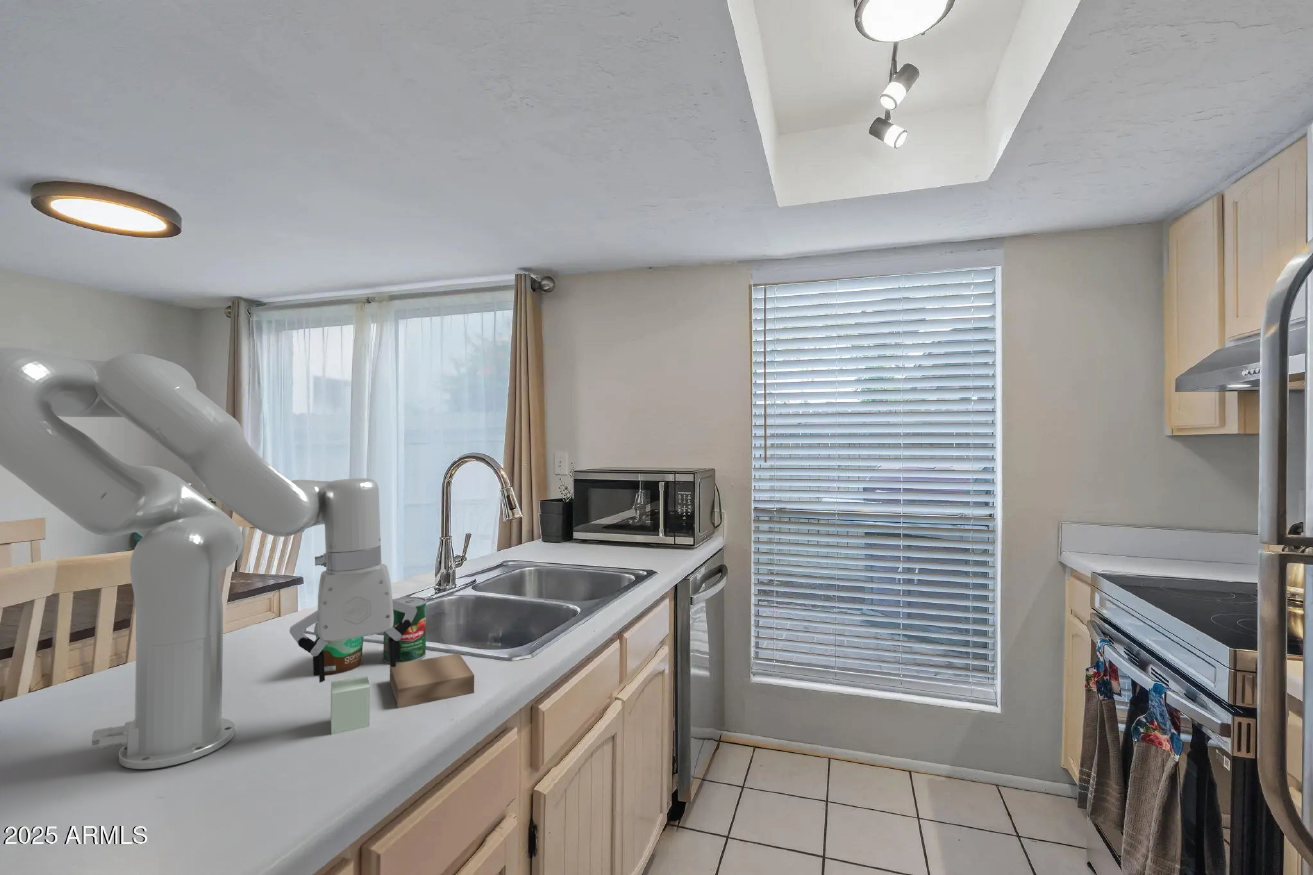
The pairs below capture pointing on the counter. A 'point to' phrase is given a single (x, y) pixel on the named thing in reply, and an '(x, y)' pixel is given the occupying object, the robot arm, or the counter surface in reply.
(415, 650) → the canned tomato
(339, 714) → the sage block
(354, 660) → the food container
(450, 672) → the walnut base
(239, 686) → the counter surface
